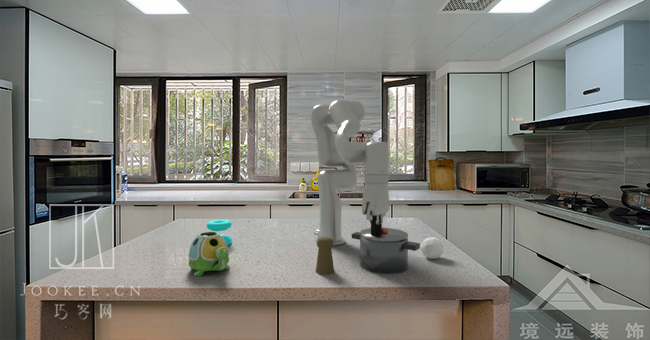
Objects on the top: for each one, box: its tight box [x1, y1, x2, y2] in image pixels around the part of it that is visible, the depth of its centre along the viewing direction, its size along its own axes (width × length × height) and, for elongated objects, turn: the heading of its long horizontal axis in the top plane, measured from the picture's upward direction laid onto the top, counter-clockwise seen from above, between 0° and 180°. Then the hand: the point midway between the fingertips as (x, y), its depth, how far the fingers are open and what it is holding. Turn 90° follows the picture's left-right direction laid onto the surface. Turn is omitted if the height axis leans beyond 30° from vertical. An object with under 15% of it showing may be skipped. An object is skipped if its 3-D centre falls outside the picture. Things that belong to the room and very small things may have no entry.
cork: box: [315, 237, 335, 276], centre depth 98 cm, size 6×6×11 cm
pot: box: [351, 231, 421, 275], centre depth 104 cm, size 24×16×10 cm, turn 50°
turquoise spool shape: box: [206, 219, 233, 246], centre depth 129 cm, size 10×10×10 cm
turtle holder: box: [187, 230, 231, 277], centre depth 98 cm, size 12×18×12 cm
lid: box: [359, 227, 409, 242], centre depth 104 cm, size 16×16×3 cm
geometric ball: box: [420, 236, 444, 260], centre depth 111 cm, size 8×8×8 cm
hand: (376, 235), depth 100 cm, fingers closed
